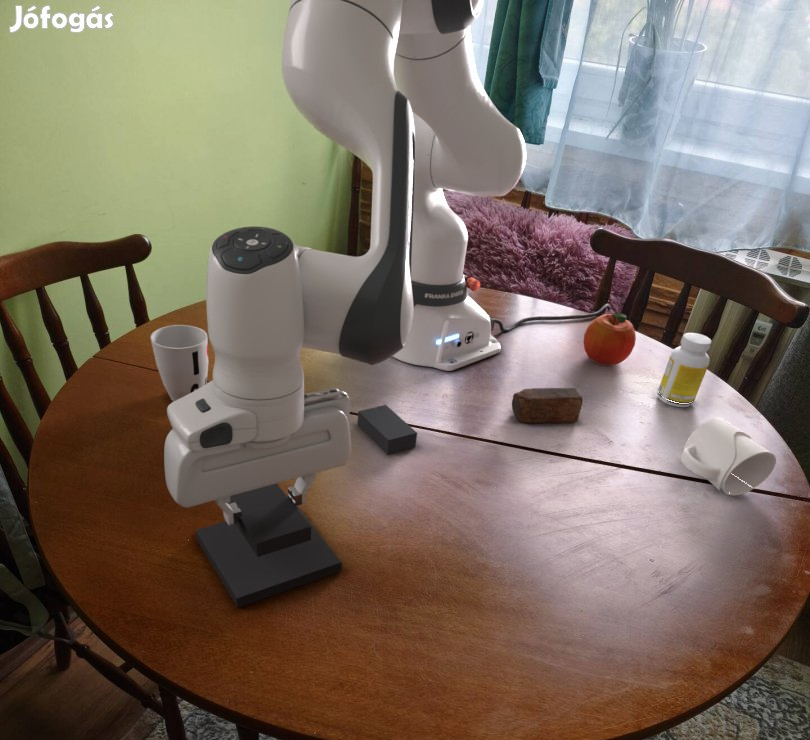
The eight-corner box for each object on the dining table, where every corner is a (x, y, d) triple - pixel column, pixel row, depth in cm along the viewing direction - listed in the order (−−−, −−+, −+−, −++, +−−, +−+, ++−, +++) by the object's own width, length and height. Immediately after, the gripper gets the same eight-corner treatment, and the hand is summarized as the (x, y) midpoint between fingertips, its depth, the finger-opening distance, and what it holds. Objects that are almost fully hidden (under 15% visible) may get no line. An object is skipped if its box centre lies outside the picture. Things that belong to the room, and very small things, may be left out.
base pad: (293, 510, 90) (293, 501, 89) (341, 571, 82) (341, 562, 81) (196, 539, 84) (194, 529, 83) (237, 608, 76) (236, 598, 75)
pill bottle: (699, 408, 122) (725, 346, 115) (666, 409, 121) (690, 347, 113) (681, 390, 127) (704, 330, 120) (649, 391, 126) (671, 330, 118)
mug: (718, 457, 110) (738, 413, 105) (762, 490, 104) (786, 446, 99) (659, 469, 106) (677, 424, 101) (701, 505, 100) (723, 459, 94)
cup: (200, 413, 106) (193, 352, 99) (150, 403, 107) (140, 342, 100) (221, 388, 112) (216, 330, 106) (174, 380, 113) (166, 321, 106)
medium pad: (274, 492, 84) (273, 478, 83) (311, 540, 78) (311, 526, 77) (223, 506, 81) (221, 492, 80) (257, 557, 75) (256, 543, 74)
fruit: (620, 351, 138) (635, 301, 131) (633, 373, 131) (650, 322, 124) (573, 347, 137) (586, 297, 131) (584, 369, 130) (599, 318, 123)
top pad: (384, 418, 110) (385, 404, 108) (415, 446, 104) (417, 432, 103) (357, 425, 108) (358, 411, 106) (387, 454, 102) (388, 440, 100)
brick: (569, 411, 117) (575, 386, 114) (577, 423, 114) (584, 398, 111) (509, 411, 115) (514, 386, 112) (516, 424, 112) (521, 398, 109)
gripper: (336, 372, 77) (333, 474, 85) (150, 409, 67) (168, 520, 76) (364, 398, 73) (358, 502, 82) (171, 441, 63) (187, 554, 72)
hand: (265, 511), depth 79 cm, fingers closed on medium pad, 6 cm apart
